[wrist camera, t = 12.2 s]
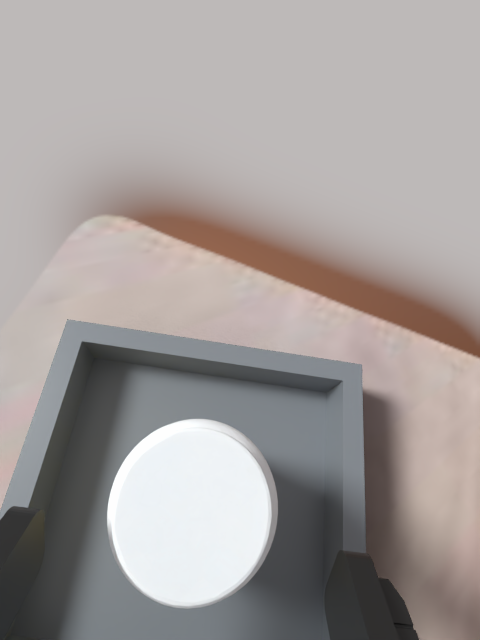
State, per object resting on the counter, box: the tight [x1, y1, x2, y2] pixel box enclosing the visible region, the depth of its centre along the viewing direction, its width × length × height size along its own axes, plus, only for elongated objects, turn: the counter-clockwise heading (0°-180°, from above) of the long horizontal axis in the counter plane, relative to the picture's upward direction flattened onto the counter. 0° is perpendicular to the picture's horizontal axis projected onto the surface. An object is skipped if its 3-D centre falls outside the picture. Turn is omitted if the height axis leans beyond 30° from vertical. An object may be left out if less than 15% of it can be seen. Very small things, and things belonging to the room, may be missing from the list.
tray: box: [0, 319, 366, 640], centre depth 17 cm, size 15×14×4 cm
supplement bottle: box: [107, 419, 278, 609], centre depth 14 cm, size 5×5×10 cm
